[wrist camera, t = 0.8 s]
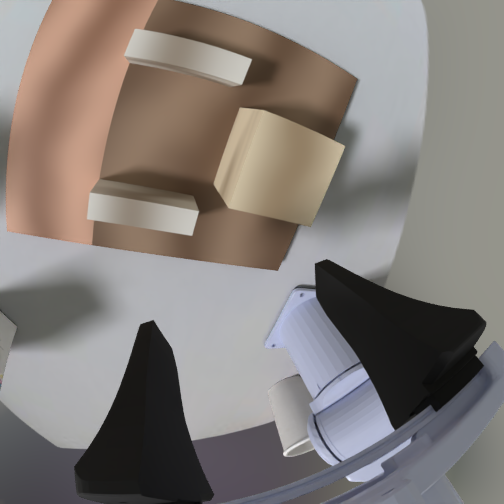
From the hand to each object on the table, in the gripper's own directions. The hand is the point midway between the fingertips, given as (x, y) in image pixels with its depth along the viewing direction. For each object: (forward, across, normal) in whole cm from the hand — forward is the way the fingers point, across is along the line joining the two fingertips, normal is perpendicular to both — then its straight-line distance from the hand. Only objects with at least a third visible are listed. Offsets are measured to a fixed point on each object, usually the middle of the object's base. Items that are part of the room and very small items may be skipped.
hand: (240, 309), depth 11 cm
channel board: (+9, +1, -7) cm, 11 cm away
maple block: (+8, -4, -4) cm, 10 cm away
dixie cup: (+9, -3, +28) cm, 30 cm away
